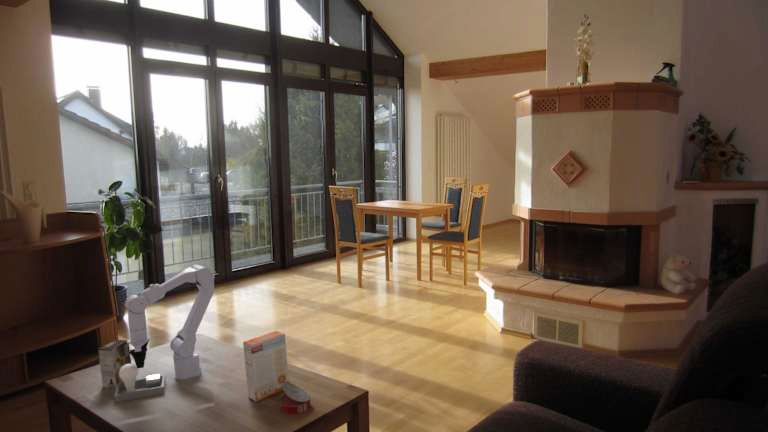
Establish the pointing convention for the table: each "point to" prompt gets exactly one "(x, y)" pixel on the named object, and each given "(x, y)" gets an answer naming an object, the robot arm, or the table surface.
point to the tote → (138, 390)
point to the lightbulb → (129, 376)
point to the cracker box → (265, 365)
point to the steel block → (153, 381)
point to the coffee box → (113, 361)
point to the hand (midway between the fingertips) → (141, 363)
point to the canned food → (294, 399)
